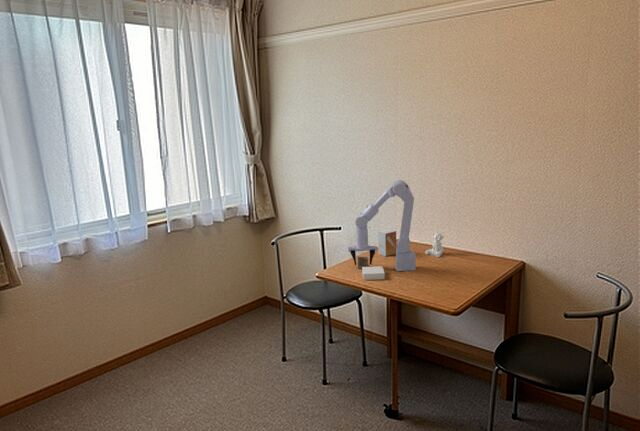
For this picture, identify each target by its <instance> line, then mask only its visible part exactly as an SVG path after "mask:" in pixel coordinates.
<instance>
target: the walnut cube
mask: <svg viewBox="0 0 640 431" xmlns="http://www.w3.org/2000/svg"><path fill="white" fill-rule="evenodd" d="M362 267H369V257H368V256H357V268H358V270H362Z"/></svg>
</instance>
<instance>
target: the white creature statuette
mask: <svg viewBox="0 0 640 431" xmlns="http://www.w3.org/2000/svg"><path fill="white" fill-rule="evenodd" d="M443 239H444V235H443V234H441V233H439V232H435V233H434V236H433V240H434V241H433V242H432V244H431V246H432V248H428V249H427V250H425V252H424V253H425V255H431V256H435V257H436V258H440V257H441V256H442V255H443V253H444V248H443V245H442V242H441V241H442V240H443Z"/></svg>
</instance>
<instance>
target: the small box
mask: <svg viewBox="0 0 640 431" xmlns="http://www.w3.org/2000/svg"><path fill="white" fill-rule="evenodd" d="M377 235H378V236H377V239H378V240H377V241H378V242H377V243H378V244H377V245H378V246H377V252H378V255H381V256H383V257H388V256H392V255H396V250H397V248H396V246H397V230H394V229H391V228H388V229H384V230H380V231H377Z"/></svg>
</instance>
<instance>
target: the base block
mask: <svg viewBox="0 0 640 431" xmlns="http://www.w3.org/2000/svg"><path fill="white" fill-rule="evenodd" d="M361 273H362V279H363V280H364V281H371V280H375V281H376V280H385V279H386V278H385V275H386V274H385V271H384V267H383V266H380V265H378V266H368V267H362V269H361Z"/></svg>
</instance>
